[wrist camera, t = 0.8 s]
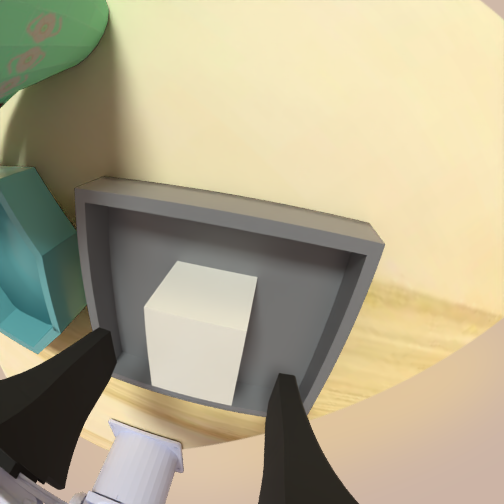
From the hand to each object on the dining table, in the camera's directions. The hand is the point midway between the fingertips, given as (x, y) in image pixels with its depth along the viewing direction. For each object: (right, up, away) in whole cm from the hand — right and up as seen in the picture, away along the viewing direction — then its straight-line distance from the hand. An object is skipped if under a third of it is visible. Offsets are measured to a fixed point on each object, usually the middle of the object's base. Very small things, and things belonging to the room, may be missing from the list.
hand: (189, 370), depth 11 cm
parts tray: (+1, +2, +4) cm, 5 cm away
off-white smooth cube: (0, +2, +4) cm, 4 cm away
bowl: (-14, +5, +5) cm, 16 cm away
